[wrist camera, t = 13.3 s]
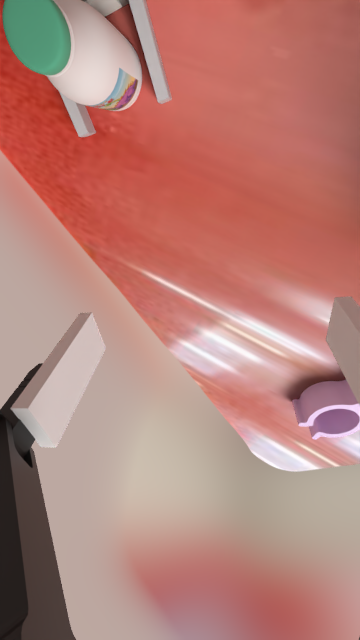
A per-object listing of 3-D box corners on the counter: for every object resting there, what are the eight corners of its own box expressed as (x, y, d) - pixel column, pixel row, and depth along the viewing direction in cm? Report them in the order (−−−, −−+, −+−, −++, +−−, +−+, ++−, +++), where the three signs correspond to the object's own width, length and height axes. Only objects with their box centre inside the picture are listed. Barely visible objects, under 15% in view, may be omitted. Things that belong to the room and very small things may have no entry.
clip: (368, 360, 59) (384, 385, 54) (390, 391, 64) (407, 416, 58) (286, 395, 68) (292, 419, 63) (310, 419, 73) (318, 444, 67)
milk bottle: (79, 37, 34) (-45, -45, 18) (138, 29, 33) (64, -66, 17) (94, 114, 38) (6, 103, 22) (147, 108, 38) (95, 93, 21)
